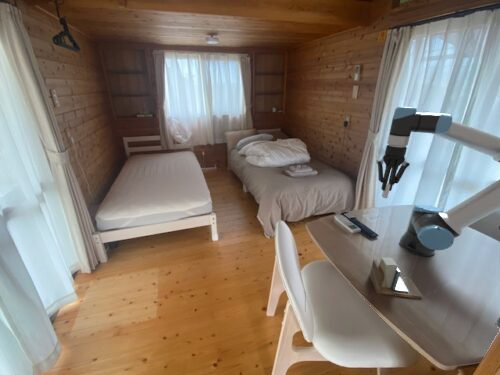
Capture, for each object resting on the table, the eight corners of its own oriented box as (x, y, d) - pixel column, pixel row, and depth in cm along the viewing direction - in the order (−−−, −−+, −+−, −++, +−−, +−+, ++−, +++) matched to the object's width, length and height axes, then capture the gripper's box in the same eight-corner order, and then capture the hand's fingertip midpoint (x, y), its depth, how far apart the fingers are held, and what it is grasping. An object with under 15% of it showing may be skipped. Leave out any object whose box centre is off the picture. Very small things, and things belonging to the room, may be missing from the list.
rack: (409, 280, 101) (415, 264, 98) (421, 299, 92) (427, 282, 89) (369, 275, 103) (373, 259, 100) (376, 292, 94) (381, 276, 91)
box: (375, 278, 100) (380, 256, 96) (385, 279, 100) (391, 257, 96) (380, 287, 95) (386, 265, 91) (391, 288, 95) (398, 265, 91)
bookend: (400, 278, 100) (405, 260, 97) (408, 292, 93) (414, 273, 90) (385, 276, 101) (390, 258, 98) (392, 290, 94) (398, 271, 91)
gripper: (409, 144, 103) (396, 195, 112) (377, 143, 105) (367, 192, 114) (418, 148, 97) (403, 201, 105) (383, 146, 99) (371, 199, 107)
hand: (384, 196), depth 109 cm, fingers closed
